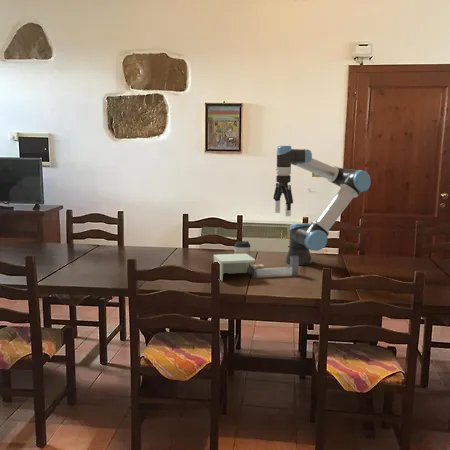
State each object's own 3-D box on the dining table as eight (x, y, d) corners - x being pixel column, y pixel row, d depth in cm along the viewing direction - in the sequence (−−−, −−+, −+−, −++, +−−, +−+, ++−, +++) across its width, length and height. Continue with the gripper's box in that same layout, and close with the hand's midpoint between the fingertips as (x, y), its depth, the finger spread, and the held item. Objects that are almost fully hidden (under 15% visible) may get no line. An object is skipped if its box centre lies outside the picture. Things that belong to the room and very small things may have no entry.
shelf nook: (246, 272, 275) (246, 253, 274) (254, 279, 261) (255, 259, 259) (213, 273, 271) (213, 254, 269) (220, 281, 256) (220, 261, 255)
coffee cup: (236, 270, 278) (236, 243, 276) (231, 266, 287) (232, 240, 285) (252, 269, 281) (252, 242, 278) (246, 265, 289) (247, 239, 287)
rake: (291, 271, 279) (292, 253, 278) (298, 275, 271) (298, 257, 269) (248, 273, 273) (249, 255, 271) (253, 277, 264) (254, 258, 263)
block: (260, 272, 275) (261, 263, 274) (263, 275, 270) (264, 266, 269) (251, 273, 274) (252, 264, 273) (254, 275, 269) (255, 266, 268)
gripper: (267, 173, 283) (267, 211, 287) (287, 176, 260) (286, 218, 264) (280, 173, 286) (279, 211, 289) (300, 176, 262) (299, 217, 266)
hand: (282, 214), depth 276 cm, fingers open, 13 cm apart
